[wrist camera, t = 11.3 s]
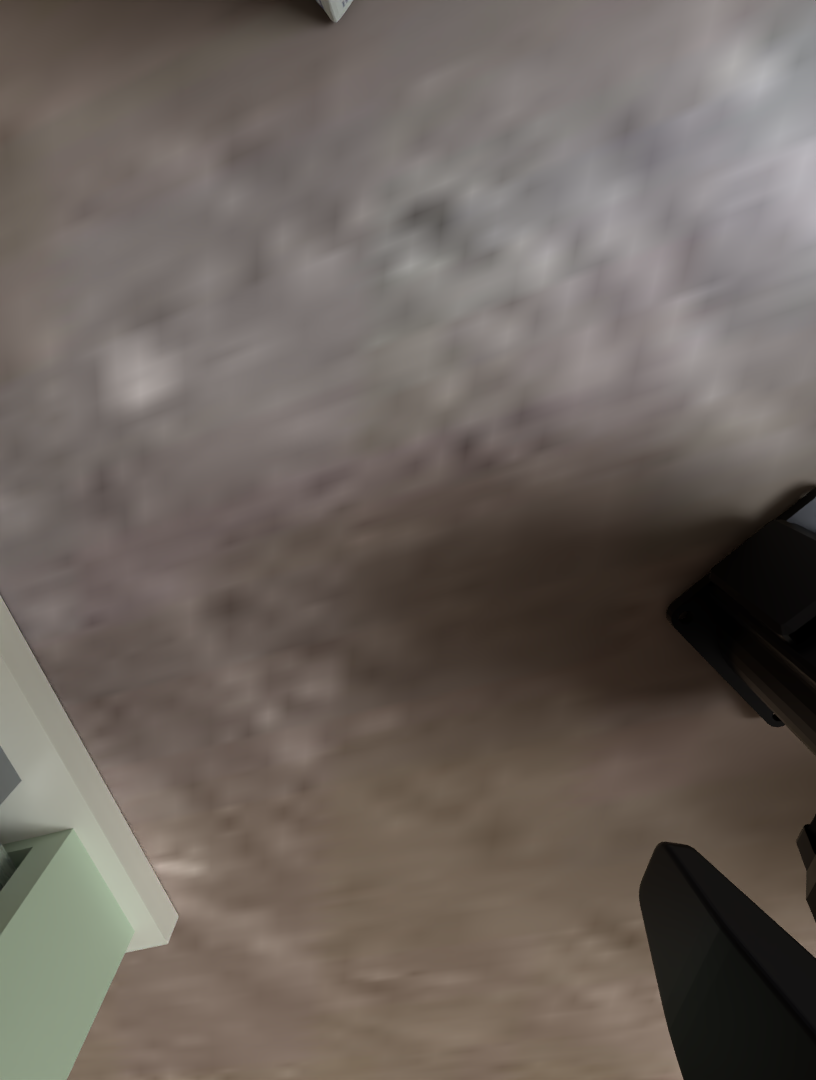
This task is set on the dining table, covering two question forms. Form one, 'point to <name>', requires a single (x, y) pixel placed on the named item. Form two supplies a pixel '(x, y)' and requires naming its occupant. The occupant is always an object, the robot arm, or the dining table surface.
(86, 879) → the socket block
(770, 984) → the robot arm
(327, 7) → the medicine box
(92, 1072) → the dining table surface
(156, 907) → the tube stand
